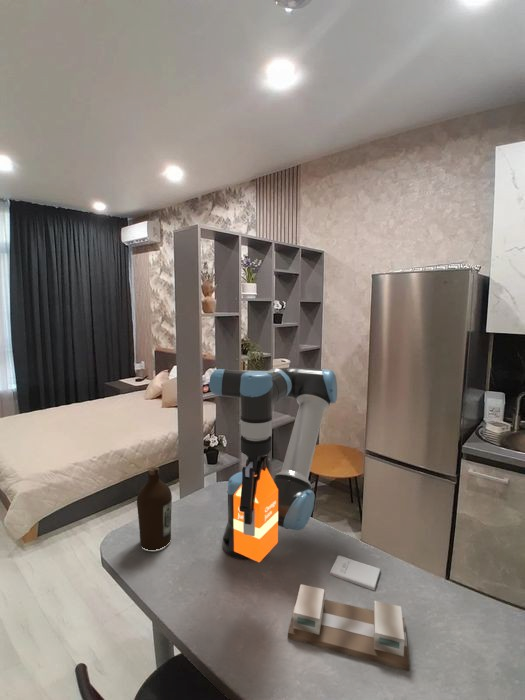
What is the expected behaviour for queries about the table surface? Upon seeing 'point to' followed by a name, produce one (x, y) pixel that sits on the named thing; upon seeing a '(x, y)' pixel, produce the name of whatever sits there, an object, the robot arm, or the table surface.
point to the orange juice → (258, 520)
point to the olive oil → (154, 512)
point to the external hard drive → (355, 572)
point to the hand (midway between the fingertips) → (256, 521)
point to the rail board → (350, 628)
